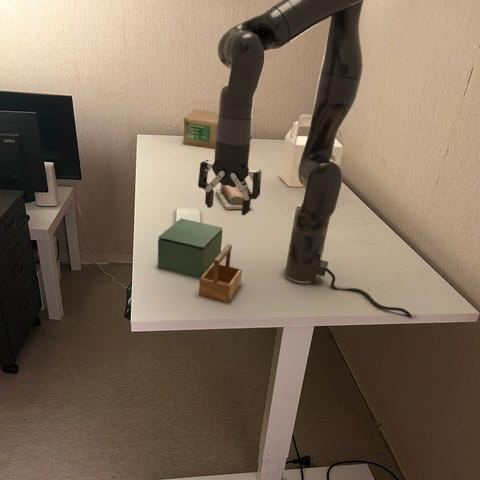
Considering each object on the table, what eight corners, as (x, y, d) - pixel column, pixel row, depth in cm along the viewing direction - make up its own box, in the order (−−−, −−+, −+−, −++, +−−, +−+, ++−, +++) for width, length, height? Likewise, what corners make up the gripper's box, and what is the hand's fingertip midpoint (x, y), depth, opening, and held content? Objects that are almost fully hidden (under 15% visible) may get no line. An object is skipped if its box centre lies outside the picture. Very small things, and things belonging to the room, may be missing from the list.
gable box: (287, 186, 199) (298, 117, 183) (278, 177, 209) (288, 110, 194) (335, 187, 204) (350, 120, 188) (324, 178, 214) (337, 113, 199)
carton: (180, 247, 140) (180, 218, 134) (220, 256, 137) (222, 227, 132) (158, 268, 128) (157, 236, 122) (201, 278, 125) (203, 247, 120)
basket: (212, 278, 126) (215, 241, 120) (240, 285, 124) (244, 247, 118) (198, 295, 118) (200, 256, 111) (228, 303, 116) (232, 263, 110)
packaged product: (216, 181, 180) (240, 181, 183) (215, 193, 183) (239, 193, 185) (226, 197, 166) (253, 197, 168) (225, 210, 168) (251, 210, 171)
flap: (180, 219, 135) (180, 218, 134) (222, 228, 132) (222, 227, 132) (170, 228, 129) (170, 227, 129) (213, 238, 126) (213, 237, 126)
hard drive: (200, 222, 153) (199, 208, 163) (175, 221, 152) (176, 207, 162) (200, 227, 154) (199, 213, 164) (175, 225, 153) (176, 211, 163)
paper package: (181, 144, 239) (182, 115, 231) (194, 134, 260) (195, 107, 252) (232, 152, 237) (235, 123, 229) (241, 141, 258) (243, 114, 250)
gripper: (196, 136, 98) (192, 209, 107) (260, 148, 95) (251, 222, 104) (208, 130, 104) (204, 199, 113) (269, 141, 101) (260, 211, 110)
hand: (227, 210), depth 109 cm, fingers open, 8 cm apart
